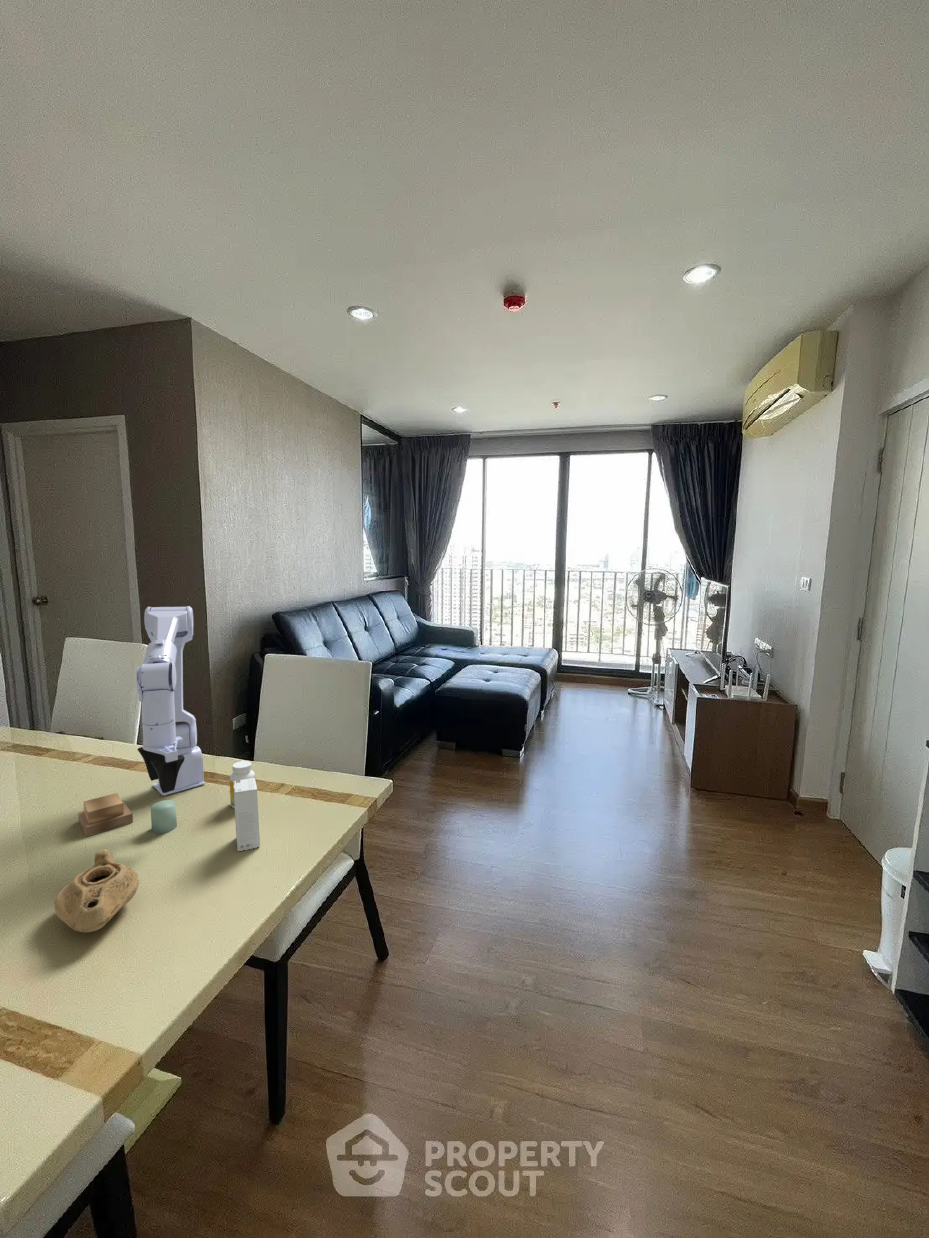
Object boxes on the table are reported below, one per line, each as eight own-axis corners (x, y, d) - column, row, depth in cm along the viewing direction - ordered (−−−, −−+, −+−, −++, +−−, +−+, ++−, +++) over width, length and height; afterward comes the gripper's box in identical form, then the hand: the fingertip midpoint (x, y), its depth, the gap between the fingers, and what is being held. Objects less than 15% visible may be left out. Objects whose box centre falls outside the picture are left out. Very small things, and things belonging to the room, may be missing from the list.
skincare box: (260, 847, 100) (259, 788, 99) (235, 852, 99) (234, 793, 97) (258, 832, 106) (257, 776, 104) (234, 836, 104) (232, 780, 103)
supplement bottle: (236, 798, 120) (235, 759, 119) (259, 798, 120) (258, 759, 119) (226, 809, 115) (225, 768, 114) (250, 809, 115) (249, 769, 114)
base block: (123, 810, 114) (122, 800, 114) (133, 824, 109) (132, 813, 108) (78, 823, 108) (78, 812, 108) (87, 839, 103) (86, 827, 103)
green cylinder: (172, 820, 110) (171, 798, 109) (179, 828, 107) (178, 805, 106) (148, 827, 107) (147, 805, 106) (155, 836, 104) (154, 813, 103)
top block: (118, 803, 112) (117, 792, 112) (123, 814, 108) (123, 802, 108) (84, 812, 108) (83, 801, 108) (88, 823, 104) (87, 812, 103)
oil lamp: (57, 962, 72) (53, 909, 71) (54, 904, 83) (50, 858, 82) (148, 927, 79) (146, 879, 78) (133, 878, 90) (131, 836, 89)
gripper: (193, 725, 102) (195, 790, 103) (169, 709, 112) (171, 768, 113) (152, 733, 97) (156, 801, 98) (131, 715, 107) (135, 778, 108)
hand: (162, 784), depth 105 cm, fingers open, 7 cm apart
